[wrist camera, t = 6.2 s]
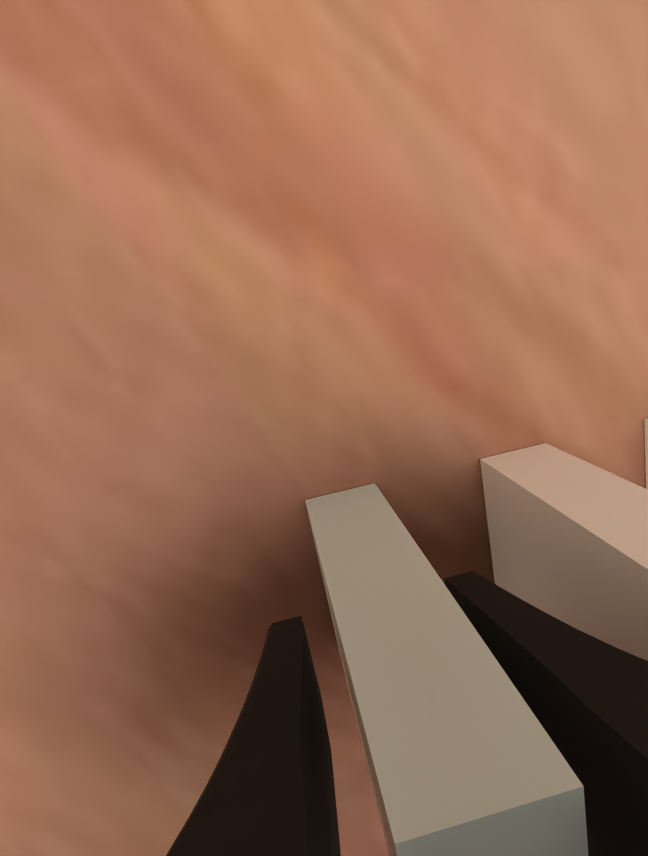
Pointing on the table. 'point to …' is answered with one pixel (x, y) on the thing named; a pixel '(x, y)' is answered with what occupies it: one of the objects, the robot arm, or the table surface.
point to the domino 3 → (646, 450)
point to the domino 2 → (571, 542)
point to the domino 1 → (435, 701)
